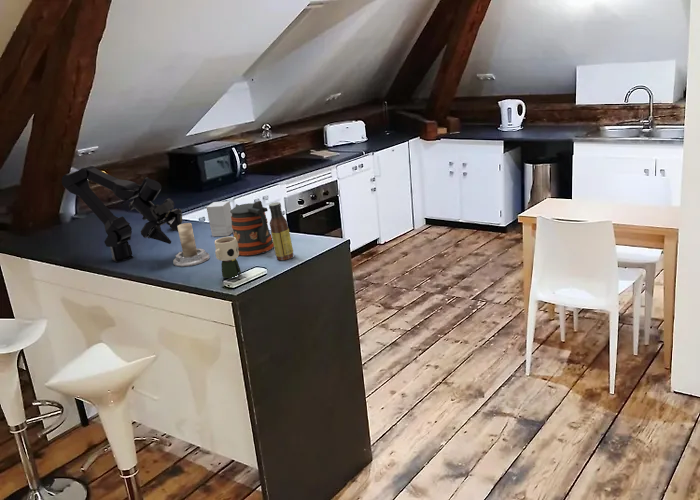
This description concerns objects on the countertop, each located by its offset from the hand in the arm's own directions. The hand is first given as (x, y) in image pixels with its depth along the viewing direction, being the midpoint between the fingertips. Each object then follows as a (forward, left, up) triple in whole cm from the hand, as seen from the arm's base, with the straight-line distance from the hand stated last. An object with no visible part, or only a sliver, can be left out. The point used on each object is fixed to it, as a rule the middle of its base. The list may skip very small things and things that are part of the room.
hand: (178, 238), depth 249 cm
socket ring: (+2, -3, -8) cm, 9 cm away
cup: (+15, +44, -8) cm, 47 cm away
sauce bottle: (+25, -31, -8) cm, 41 cm away
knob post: (+2, -3, -7) cm, 8 cm away
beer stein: (+23, -15, -9) cm, 29 cm away
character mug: (+4, -32, -8) cm, 34 cm away
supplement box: (+25, +18, -9) cm, 32 cm away
